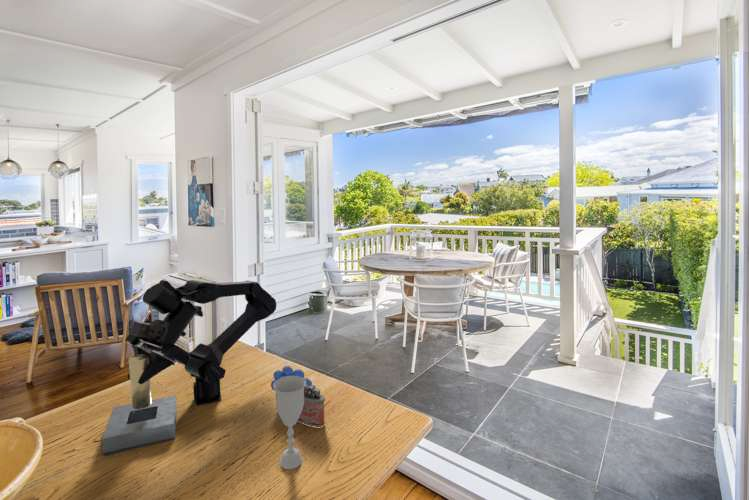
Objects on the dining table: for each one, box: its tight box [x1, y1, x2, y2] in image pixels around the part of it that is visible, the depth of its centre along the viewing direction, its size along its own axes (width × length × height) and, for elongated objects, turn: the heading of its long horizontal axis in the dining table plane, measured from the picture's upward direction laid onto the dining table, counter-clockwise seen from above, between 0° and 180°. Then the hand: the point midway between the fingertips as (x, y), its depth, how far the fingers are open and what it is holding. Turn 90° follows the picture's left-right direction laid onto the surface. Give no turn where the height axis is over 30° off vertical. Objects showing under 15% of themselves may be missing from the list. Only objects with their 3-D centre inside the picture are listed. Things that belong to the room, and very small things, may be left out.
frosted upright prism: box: [128, 354, 153, 409], centre depth 90 cm, size 4×4×12 cm
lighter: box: [298, 384, 326, 427], centre depth 96 cm, size 8×3×10 cm, turn 65°
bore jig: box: [101, 395, 178, 456], centre depth 92 cm, size 14×14×4 cm
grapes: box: [270, 365, 313, 392], centre depth 102 cm, size 12×7×12 cm, turn 87°
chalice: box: [273, 376, 306, 470], centre depth 81 cm, size 7×7×18 cm
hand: (134, 381), depth 89 cm, fingers closed on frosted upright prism, 4 cm apart
